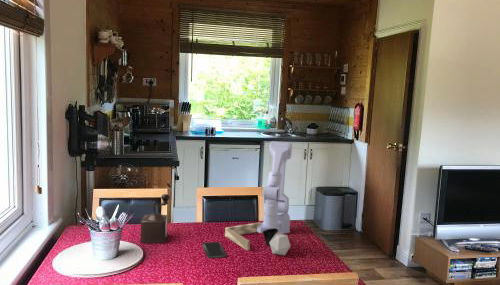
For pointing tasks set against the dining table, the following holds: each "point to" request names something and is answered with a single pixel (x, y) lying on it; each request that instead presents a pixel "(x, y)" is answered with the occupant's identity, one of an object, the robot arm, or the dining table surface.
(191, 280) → the dining table surface
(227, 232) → the wooden frame
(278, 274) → the dining table surface
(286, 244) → the die
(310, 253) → the dining table surface
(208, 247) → the phone
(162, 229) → the coffee grinder box
